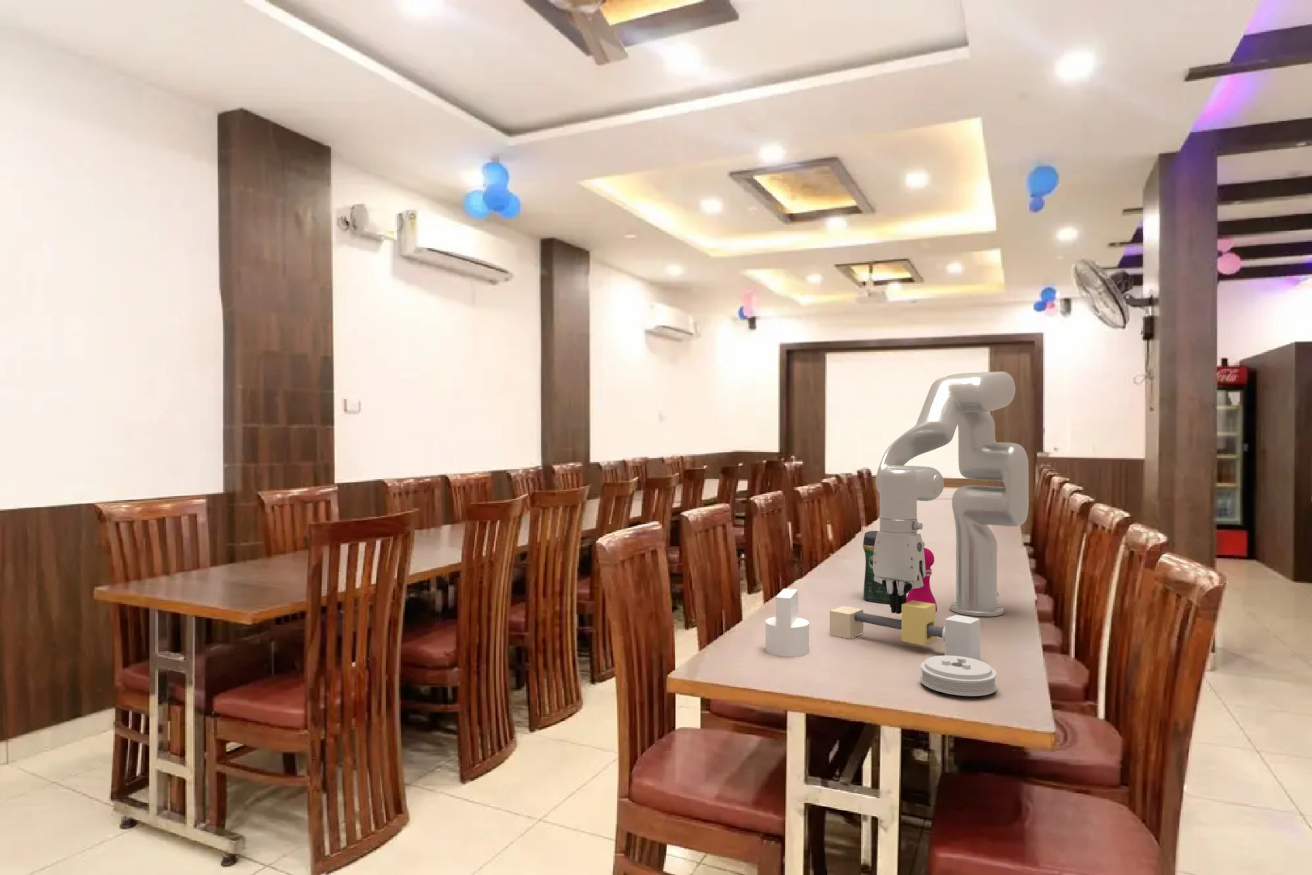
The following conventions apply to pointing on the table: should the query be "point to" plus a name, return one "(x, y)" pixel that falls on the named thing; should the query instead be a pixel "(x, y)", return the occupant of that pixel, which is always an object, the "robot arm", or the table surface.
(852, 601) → the table surface
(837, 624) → the slider rail
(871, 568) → the coffee jar
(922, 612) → the pale yellow upright block
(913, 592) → the pepper mill
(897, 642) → the table surface
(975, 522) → the robot arm
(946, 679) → the lid
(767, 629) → the base with upright slab
